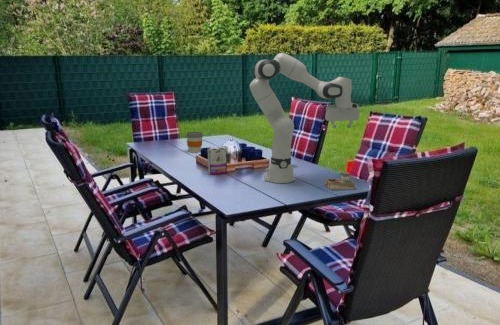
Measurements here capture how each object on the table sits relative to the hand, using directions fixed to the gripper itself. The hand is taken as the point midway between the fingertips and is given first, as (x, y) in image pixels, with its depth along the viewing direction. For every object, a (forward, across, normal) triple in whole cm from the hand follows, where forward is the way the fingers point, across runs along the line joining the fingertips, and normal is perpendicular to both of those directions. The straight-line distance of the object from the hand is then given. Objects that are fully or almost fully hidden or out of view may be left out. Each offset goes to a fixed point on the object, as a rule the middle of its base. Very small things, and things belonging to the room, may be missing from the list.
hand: (341, 128), depth 258 cm
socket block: (+31, -7, -18) cm, 37 cm away
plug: (+31, -4, -17) cm, 36 cm away
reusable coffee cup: (+31, -80, +95) cm, 128 cm away
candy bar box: (+31, -71, +25) cm, 82 cm away
